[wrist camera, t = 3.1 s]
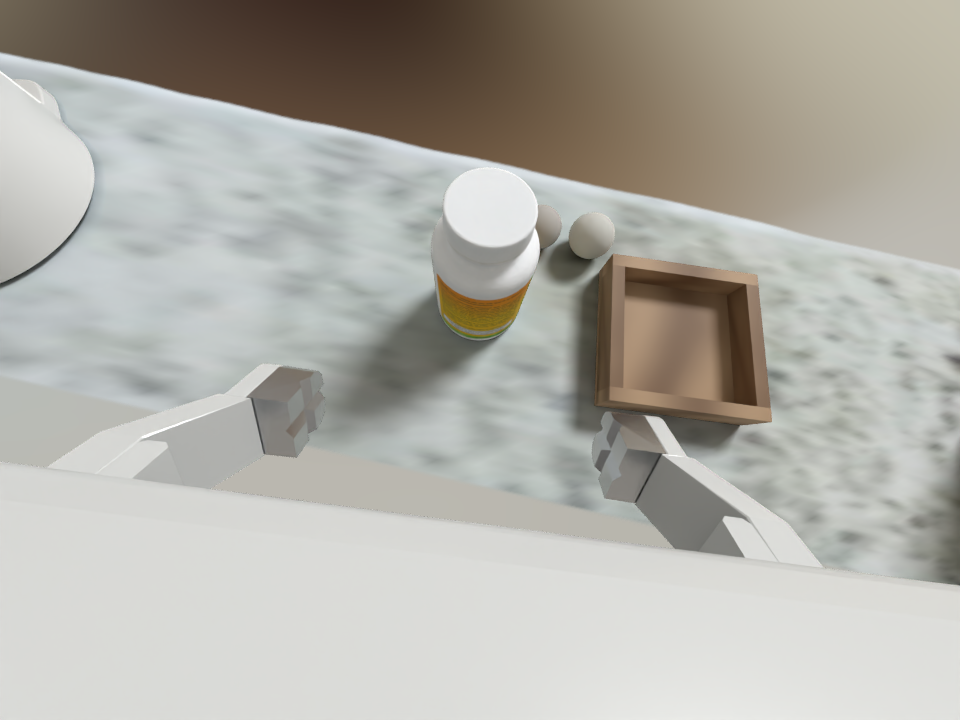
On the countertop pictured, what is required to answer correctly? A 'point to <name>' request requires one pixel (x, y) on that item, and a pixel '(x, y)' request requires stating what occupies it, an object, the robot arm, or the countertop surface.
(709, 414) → the tray
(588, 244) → the pebble
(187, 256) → the countertop surface
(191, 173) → the countertop surface
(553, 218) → the pebble
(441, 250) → the supplement bottle
